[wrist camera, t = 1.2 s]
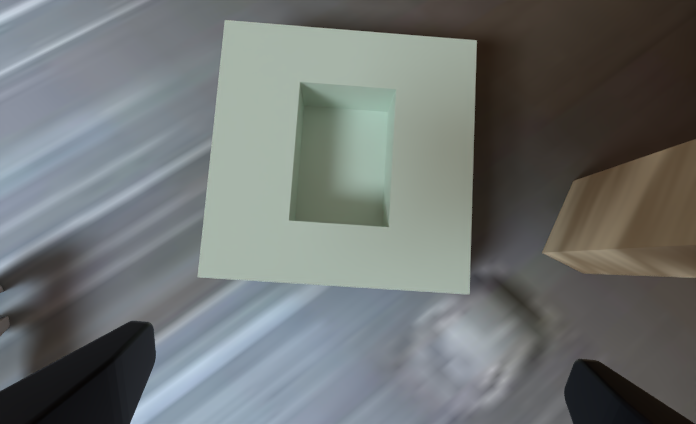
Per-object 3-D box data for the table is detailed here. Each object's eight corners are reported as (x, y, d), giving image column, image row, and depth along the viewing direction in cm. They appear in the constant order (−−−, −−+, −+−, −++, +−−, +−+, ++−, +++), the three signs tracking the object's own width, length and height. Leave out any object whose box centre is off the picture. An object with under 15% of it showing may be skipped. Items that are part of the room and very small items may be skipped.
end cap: (453, 76, 24) (476, 40, 20) (445, 289, 23) (469, 294, 19) (242, 60, 24) (224, 20, 20) (221, 274, 22) (197, 277, 19)
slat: (613, 200, 24) (946, 126, 11) (583, 273, 23) (896, 285, 10) (573, 181, 24) (857, 83, 11) (541, 252, 23) (801, 239, 10)
